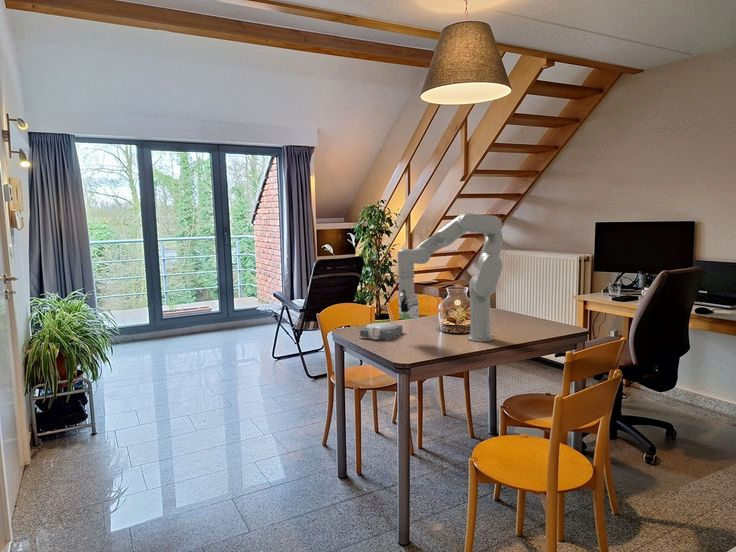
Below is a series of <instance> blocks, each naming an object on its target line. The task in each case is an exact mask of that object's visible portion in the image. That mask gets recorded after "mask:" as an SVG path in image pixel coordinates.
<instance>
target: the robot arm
mask: <svg viewBox="0 0 736 552" xmlns="http://www.w3.org/2000/svg"><path fill="white" fill-rule="evenodd" d="M502 225H503V224H502V220H501V218H499V217H498V216H496V215H491V214H490V215H489V214H488V215H487V214H480V213H479V214H476V213H471V212H470V213H469V212H468V213H467V212H466V213H461V214H459V215H458V216H456V217H455V218H454V219H452V220H451V221H450V222H448V223H447V224H446V225H445V226H444V227H442V228H441V229H439V230H438V231H436V232H435V233H433V234H432V235H431V236H430V237H429V238H427V239H426V240H424V241H423V242H421V243H420V244H419V245H417V246H416V247H415V248H414V249H410V248H402V249H401V248H400V249H399V250H398V251H397V268H398V269H397V270H398V295H399V298H400V301H401V312H408V304H407V300H408V299H409V298H410V297H411V295H412V294H413V293H415V281H414V278H415V264H418V265H423V264H424V265H425V264H427V263H428V262H429V261H430V259H431V255H433V254H434V253H436V252H437V251H439V250H441V249H443V248H446V247H448V246H450V245H452V244H453V243H455V241H457V240H459V238H461V237H463V235H465V234H466V233H468V232H469V233H476V234H483V236H484V241H483V245H482V249H481V252H480V255H479V258H478V260H477V267H478V269H479V273H478V274H474V275H473V276H472V277H471V278H470V280H469V283H468V291H469V303H470V304H469V315H470V317H469V319H470V320H469V324H470V325H469V327H470V328H469V330H470V331H469V334H468V335H467V336H466V338H467V340H469V341H471V342H483V343H484V342H491V341H493V340H494V335H492V334H491V296H492V294H493V293H494V292H495V291H496V288H497V285H498V282H499V279H500V276H501V273H502V271H503V260H502V259H501V257H500V255H501V250H502V247H503V243H504V236H503V233H502ZM403 296H405V297H403Z"/></svg>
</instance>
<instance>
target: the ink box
mask: <svg viewBox="0 0 736 552" xmlns="http://www.w3.org/2000/svg"><path fill="white" fill-rule="evenodd" d="M403 297H405V296H403ZM397 299H398V301H397V302H398V314H399V315H398V317H399V320H412V319H419V318H420V311H419V294H418V293H415V292H414V293H413V294H412V295H411V297H410V298H409V299H408V300H407V304H408V312H401V301H400V298H399V294H398V295H397Z"/></svg>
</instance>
